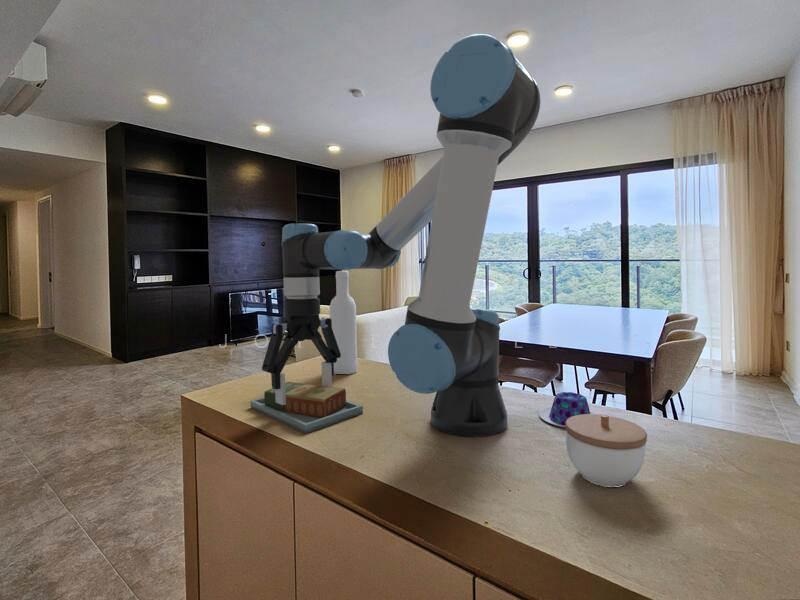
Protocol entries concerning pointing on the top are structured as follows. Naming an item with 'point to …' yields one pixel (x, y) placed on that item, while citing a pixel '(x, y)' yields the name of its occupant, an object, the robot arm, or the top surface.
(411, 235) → the robot arm
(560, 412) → the pudding
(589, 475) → the lidded jar
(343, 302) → the bottle
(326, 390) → the carton
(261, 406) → the tray
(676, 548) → the top surface
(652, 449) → the top surface
